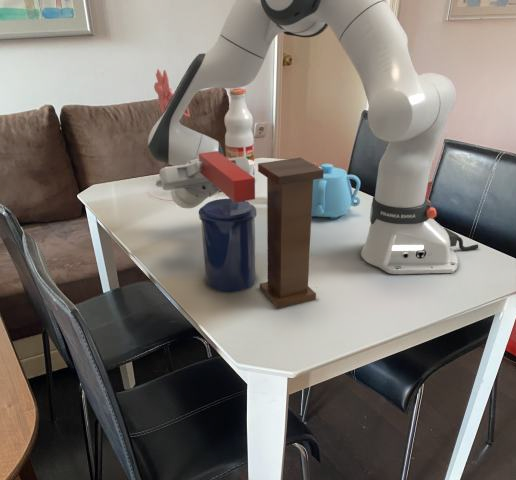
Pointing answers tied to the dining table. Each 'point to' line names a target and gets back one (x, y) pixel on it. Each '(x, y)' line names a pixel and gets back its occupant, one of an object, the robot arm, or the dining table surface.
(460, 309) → the dining table surface
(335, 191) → the decorative pot
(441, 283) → the dining table surface
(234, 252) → the pot
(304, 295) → the stand
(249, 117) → the fruit juice
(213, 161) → the red rectangular block
